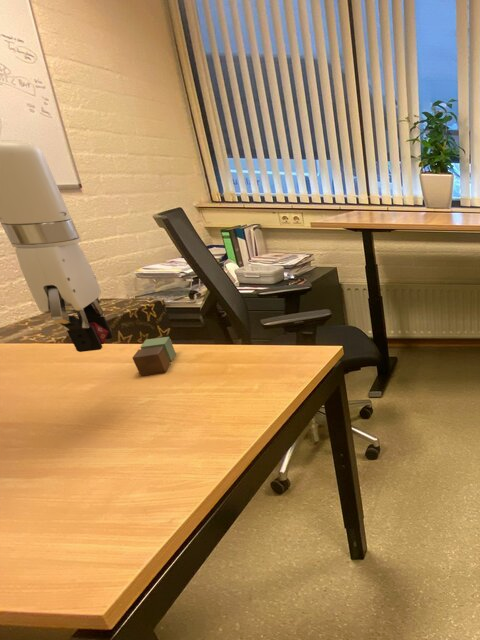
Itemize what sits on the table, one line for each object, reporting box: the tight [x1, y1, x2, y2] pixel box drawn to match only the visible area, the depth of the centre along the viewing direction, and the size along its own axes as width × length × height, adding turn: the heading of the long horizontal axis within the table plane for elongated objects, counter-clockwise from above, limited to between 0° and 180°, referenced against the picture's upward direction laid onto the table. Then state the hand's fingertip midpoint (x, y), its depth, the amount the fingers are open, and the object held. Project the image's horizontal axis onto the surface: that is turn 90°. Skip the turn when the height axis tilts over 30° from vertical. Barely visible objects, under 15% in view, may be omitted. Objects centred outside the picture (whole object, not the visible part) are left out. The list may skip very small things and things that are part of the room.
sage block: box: [140, 336, 177, 363], centre depth 96 cm, size 4×4×4 cm
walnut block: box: [132, 346, 171, 377], centre depth 91 cm, size 4×4×4 cm
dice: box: [89, 322, 109, 345], centre depth 70 cm, size 4×4×4 cm
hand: (96, 343), depth 71 cm, fingers closed on dice, 4 cm apart
